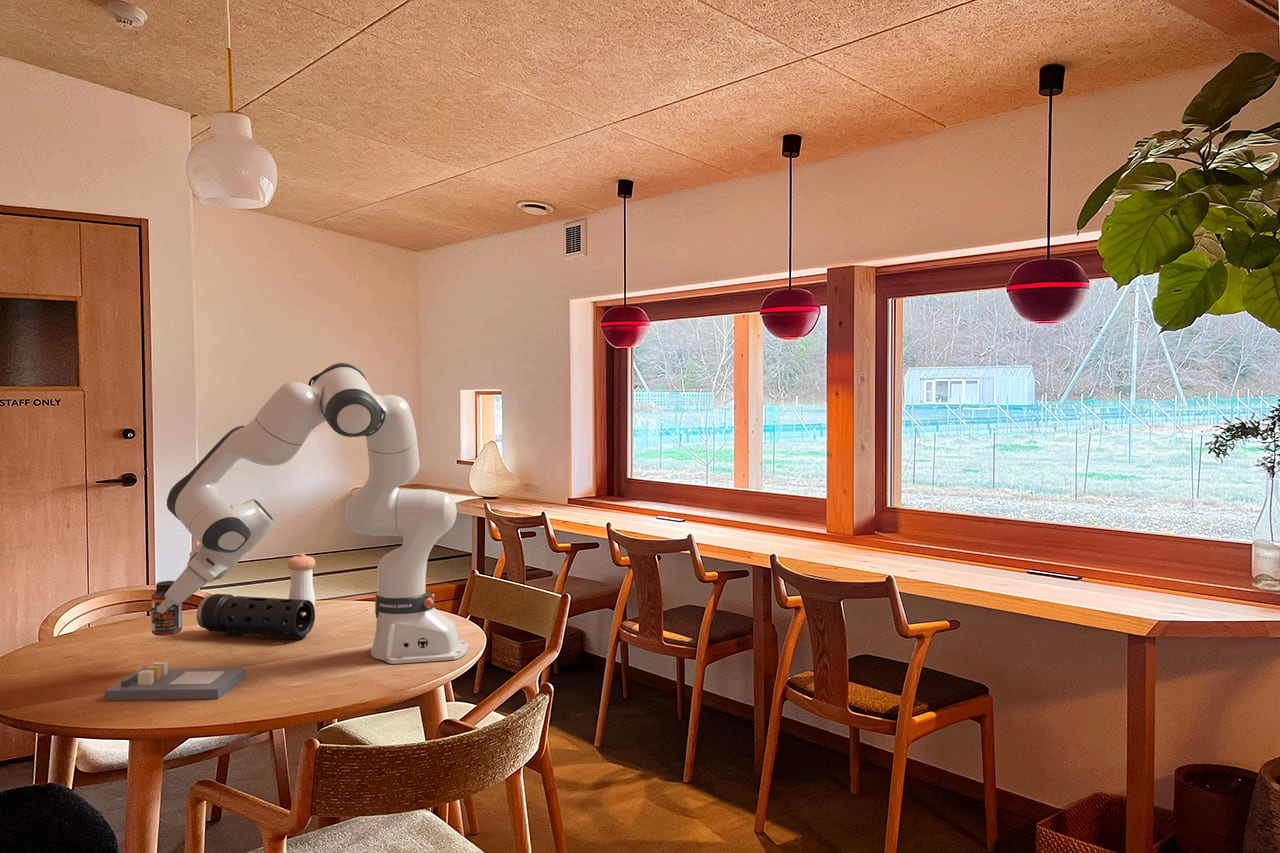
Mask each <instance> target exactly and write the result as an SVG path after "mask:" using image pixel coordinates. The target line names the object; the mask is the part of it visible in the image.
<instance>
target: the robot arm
mask: <svg viewBox="0 0 1280 853" xmlns="http://www.w3.org/2000/svg"><path fill="white" fill-rule="evenodd" d="M324 422H327V424H328V426H330V428H331V429H332V430H333V431H334V432H335V433H337V434H339V435H341V436H343V437H347V438H358V437H365V441H366V448H367V456H368V466H369V467H368V470H369V471H368V476H367V479H366V481H365V483H364V485H363V486H362V487H361V488H360V489H359V490H357V491H356V492H354V493H353V494H351V496H350V498H349V499H348V501H347V502H346V506H345V508H344V516H345V521H346V524H347V525H348V527H349V529H350V530H351V531H352V532H354V533H357V534H362V535H367V536H368V535H369V536H373V537H375V536H378V537H379V536H382V537H383V536H386V537H387V536H388V537H389V536H390V537H391V536H397V537H398V536H400V537H402V538H403V540H402V545H401V546H399V547H397V548H395V549H393V550H391V551H389V552H387V553H386V554H385V555H383V556H382V557H381V558H380V559H379V561H378V563H377V568H376V569H377V572H376V573H377V594H375V600H374V612H375V618H376V625H375V633H374V640H373V644H372V648H371V651H370V656H371V657H372V658H374V659H378V660H381V661H385V662H386V663H388V664H391V665H395V664H396V665H397V664H411V663H412V664H413V663H425V662H426V663H427V662H440V661H451V660H452V661H453V660H458V659H460V658H462V657H463V656H465V655H466V654H467V652H468V649H469V646H468V642H467V641H466V640H463V639H460V638H459V632H458V628H457V624H456V623H455V621H453V620H452V619H451V618H450V617H448V616H446V615H445V614H444V613H442V612H441V611H439V610H438V609H437V608H435V594H434V593H432V594H431V593H429V592H428V591H426V582H427V581H426V579H427V567H428V566H427V565H428V559H429V556H430V553H431V551H432V549H433V547H434V546H435V544H436V543H437V542H438V540H439V539H441V537H443V536H445V534H446V533H448V532H449V531H450V530H451V529H452V527H453V526H454V524H455V522H456V519H457V515H458V514H457V513H458V512H457V511H458V509H457V504H456V501H455V500H454V498H453V497H452V496H451V494H449V493H448V492H444V491H440V490H435V489H429V488H428V489H427V488H425V489H424V488H421V489H417V488H413V489H411V488H410V489H409V488H408V489H405V488H399V487H400V486H403V485H405V484H407V483H409V482H410V481H412V479H413V478H415V477H416V476H417V474H418V472H419V470H420V466H421V463H420V462H421V461H420V460H421V459H420V453H419V444H418V435H417V430H416V425H415V420H414V416H413V413H412V410H411V407H410V405H409V403H408V402H407V400H405V399H404V398H403V397H401V396H398V395H395V394H383V395H378V394H375V393H374V391H373V389H372V388H371V386H370V384H369V383H368V380H367V378H366V376H365V375H364V373H363V372H362V371H361V370H360V369H358V368H357V367H356V366H354V365H353V364H350V363H345V362H339V363H333V364H331V365H329V366H328V367H326V368H325V369H323V370H322V371H321V372H320V373H317V374H316V375H313V376H312V377H311V378H310V379H309V382H308V384H306V383H304V382H301V381H289V382H286V383H284V384H282V385H281V386H280V387H279V388H278V389H277V390H276V391H275V392H274V393H273V394H272V395H271V396H270V397H269V398H268V399H267V400H266V402H265V403H264V404H263V406H262V407H261V408H260V409H259V410H258V413H257V414H256V415H255V417H254V418H253V419H252V420H251V421H250V422H249V423H248V424H246V425H239V426H236V427H234V428H233V429H231V430H230V431H228V432H227V433H226V434H225V435H224V436H223V437H222V438H221V439H220V440H219V441H218V442H217V443H216V444H215V445H214V446H213V447H212V449H210V450H209V451H208V452H207V454H205V456H204V457H203V458H202V459H201V460H200V461H199V463H197V464H196V466H194V468H192V469H191V471H190V472H189V473H187V475H185V476H184V477H182V478H181V479H180V480H178V481H177V482H176V483H175V484H174V485H173V486H172V487H171V489H170V490H169V493H168V495H167V498H166V508H167V510H168V511H169V512H170V513H171V514H172V515H173V516H174V517H175V518H176V519H177V520H179V521H180V522H181V524H183V526H184V528H186V529H187V531H188V532H189V533H190V535H192V536H193V537H194V539H196V540H197V542H198V543H199V544H197V546H195V547H194V548H193V550H191V551H190V552H189V559H188V561H187V563H186V567H185V568H184V570H183V571H182V572H181V574H180V575H179V576H178V577H177V578H176V579H175V580H174V581H175V582H174V583H173V584H172V586H171V587H170V588H169V589H168V591H167V592H166V593H165V597H166V598H165V600H164V601H163V602H162V603H161V604H160V605H159V606H158V607H157V611H159V612H160V613H164V612H165V611H166V610H167V609H168V608H169V607H171V606H172V605H173V604H175V605H179V604H180V603H182V604H183V602H185V601H186V600H188V599H189V598H190V597H191V596H193V594H195V593H197V592H198V591H199V589H201V588H202V587H203V586H205V585H206V584H209V583H211V584H212V582H214V581H216V580H222V579H223V578H224V576H225V575H227V574H229V572H230V571H231V570H232V569H233V568H234V567H235V566H236V565H238V562H239V561H240V559H241V558H242V557H243V556H244V555H245V554H246V553H249V552H250V551H251V550H253V548H254V547H255V546H257V544H258V543H259V542H260V541H262V540H263V538H264V537H265V536H266V534H267V533H268V532H269V530H270V529H271V528H272V526H273V524H274V519H273V516H272V515H271V514H270V513H269V512H268V510H267V509H266V508H264V506H263V505H262V504H261V503H260V502H259V501H258V500H256V499H254V498H250V499H249V500H247V501H245V502H244V503H243V504H238V505H237V504H230V503H229V502H228V501H227V500H226V498H224V496H223V495H222V494H221V493H220V492H219V488H218V483H219V481H220V480H221V479H222V478H223V476H225V475H226V474H227V473H228V471H229V470H230V469H232V467H233V466H234V465H235V464H236V463H237V462H238V461H239V460H241V459H243V460H244V459H245V460H247V461H249V462H252V463H254V464H257V465H262V466H269V467H274V466H275V467H276V466H280V465H281V466H282V465H284V464H286V463H288V462H289V461H290V460H292V459H293V458H294V456H296V455H297V453H298V452H299V450H300V449H301V448H302V446H303V445H304V443H305V442H306V440H307V439H308V437H309V435H310V434H311V432H312V431H313V430H314V429H315V428H316V427H318V426H319V425H321V424H322V423H324Z"/></svg>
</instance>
